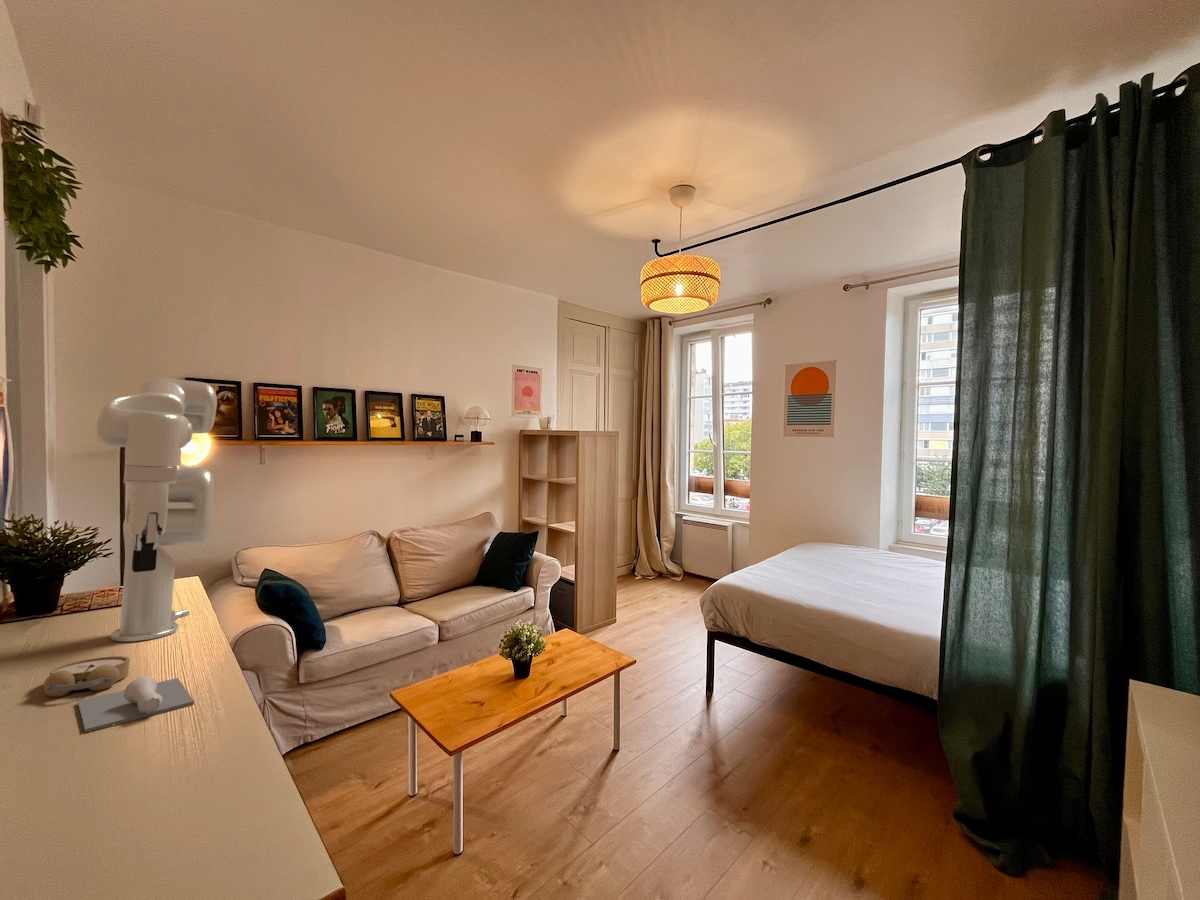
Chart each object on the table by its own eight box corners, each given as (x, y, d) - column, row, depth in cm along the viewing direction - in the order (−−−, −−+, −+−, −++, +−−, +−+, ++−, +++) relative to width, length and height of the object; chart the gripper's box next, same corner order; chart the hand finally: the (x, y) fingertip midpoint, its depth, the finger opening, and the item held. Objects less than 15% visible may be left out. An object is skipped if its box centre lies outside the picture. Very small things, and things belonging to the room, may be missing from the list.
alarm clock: (136, 652, 107) (118, 664, 95) (133, 677, 106) (115, 692, 94) (62, 661, 101) (32, 675, 88) (58, 687, 100) (28, 705, 88)
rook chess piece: (116, 698, 88) (127, 716, 84) (135, 672, 90) (147, 689, 85) (143, 702, 91) (155, 721, 87) (161, 678, 93) (174, 695, 89)
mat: (77, 704, 90) (77, 700, 90) (177, 680, 100) (177, 677, 100) (84, 733, 81) (85, 729, 81) (193, 704, 91) (194, 701, 91)
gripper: (118, 472, 97) (111, 565, 97) (130, 477, 88) (122, 581, 87) (168, 473, 103) (161, 561, 103) (184, 478, 94) (177, 575, 93)
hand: (143, 570), depth 95 cm, fingers closed
